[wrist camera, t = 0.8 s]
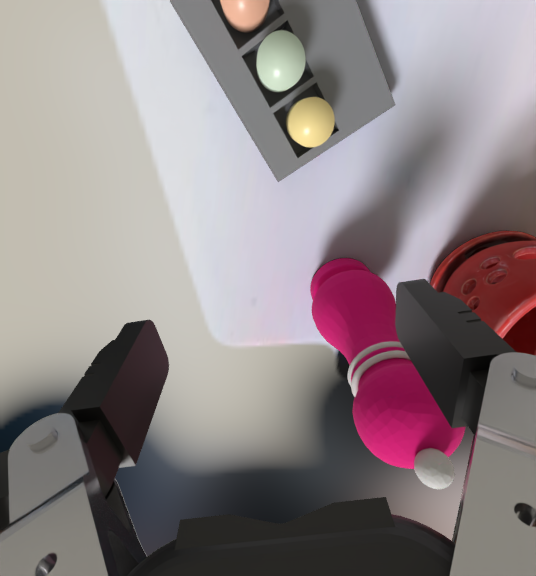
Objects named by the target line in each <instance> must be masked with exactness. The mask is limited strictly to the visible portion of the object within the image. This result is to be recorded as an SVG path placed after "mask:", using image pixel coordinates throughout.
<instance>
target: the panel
mask: <svg viewBox="0 0 536 576" xmlns="http://www.w3.org/2000/svg"><path fill="white" fill-rule="evenodd" d="M170 2H171V4H172V6H173V7H174V9H175V11H176V12H177V14H178V16H179V17H180V19H181V21H182V22H183V24H184V26H185V27H186V29H187V31H188V32H189V34H190V36H191V37H192V39H193V41H194V42H195V44H196V46H197V47H198V49H199V51H200V52H201V54H202V56H203V57H204V59H205V61H206V62H207V64H208V66H209V67H210V69H211V71H212V72H213V74H214V76H215V77H216V79H217V81H218V82H219V84H220V86H221V87H222V89H223V91H224V93H225V94H226V96H227V98H228V99H229V101H230V103H231V104H232V106H233V108H234V109H235V111H236V113H237V114H238V116H239V118H240V119H241V121H242V123H243V124H244V126H245V128H246V129H247V131H248V133H249V134H250V136H251V138H252V139H253V141H254V143H255V144H256V146H257V148H258V149H259V151H260V153H261V154H262V156H263V158H264V159H265V161H266V163H267V164H268V166H269V168H270V169H271V171H272V173H273V174H274V176H275V178H276V180H277V181H278V182H279V181H281V180H282V179H284V178H285V177H287V176H288V175H290V174H291V173H293V172H294V171H296V170H297V169H299V168H300V167H302V166H303V165H305V164H306V163H308V162H309V161H311V160H313V159H314V158H316V157H317V156H319V155H320V154H322V153H323V152H325V151H326V150H328V149H329V148H331V147H332V146H334V145H335V144H337V143H338V142H340V141H341V140H343V139H344V138H346V137H347V136H349V135H351V134H352V133H354V132H355V131H357V130H358V129H360V128H361V127H363V126H364V125H366V124H367V123H369V122H370V121H372V120H373V119H375V118H376V117H378V116H379V115H381V114H382V113H384V112H386V111H387V110H389V109H390V108H392V107H393V106H395V103H394V100H393V97H392V95H391V92H390V89H389V87H388V84H387V81H386V79H385V76H384V73H383V71H382V68H381V65H380V63H379V60H378V57H377V55H376V52H375V49H374V47H373V44H372V42H371V39H370V36H369V34H368V31H367V28H366V26H365V23H364V20H363V18H362V15H361V12H360V10H359V7H358V4H357V2H356V0H270V2H269V9H268V14H267V17H266V19H265V21H264V23H263V24H262V25H261V27H260V28H258V29H257V30H256V31H253V32H250V33H243V32H239V31H237V30H235V29H234V28H233V27H232V26H231V25H230V24H229V23H228V21H227V19H226V17H225V15H224V12H223V9H222V5H221V2H220V0H170ZM279 30H284V31H288V32H291V33H292V34H294V35H295V36H296V37H297V38H298V39H299V40H300V42H301V43H302V45H303V48H304V51H305V59H306V61H305V68H304V72H303V74H302V76H301V78H300V79H299V81H298V82H297V83H296V84H295V85H293V86H292V87H291V88H289V89H288V90H286V91H283V92H272V91H270V90H268V89H266V88H265V87H264V86H263V85H262V84H261V82H260V80H259V78H258V75H257V69H256V63H257V54H258V50H259V47H260V45H261V43H262V41H263V40H264V39H265V38H266V37H267V36H268V35H269V34H271V33H272V32H275V31H279ZM309 97H319V98H322V99H323V100H325V101H326V102H327V103H328V104H329V105H330V106H331V108H332V110H333V113H334V118H335V123H334V128H333V131H332V133H331V135H330V137H329V138H328V139H327V140H326V141H325V142H324V143H323V144H321V145H319V146H317V147H305V146H302V145H300V144H299V143H297V142H296V141H294V140H293V139H292V138H291V137H290V135H289V134H288V132H287V129H286V116H287V113H288V111H289V109H290V108H291V106H292V105H293V104H294V103H296V102H297V101H299V100H302V99H305V98H309Z"/></svg>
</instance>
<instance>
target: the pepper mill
mask: <svg viewBox="0 0 536 576" xmlns="http://www.w3.org/2000/svg"><path fill="white" fill-rule="evenodd" d="M311 295H312V299H313V304H312V315H313V319H314V322H315V324H316V326H317V329H318V330H319V332H320V333H321V335H322V336H323V337H324V338H325V339H326V341H327V342H329V343H330V344H331V345H332V346H334V347H335V348H336V349H338V350H339V351H340V352H341V353H342V354H343V355H344V356H345V357H346V359H347V360H348V362H349V364H350V366H349V369H348V381H349V384H350V386H351V389H352V393H353V395H354V397H355V399H354V404H353V417H354V422H355V426H356V428H357V431H358V434H359V435H360V437H361V439H362V440H363V442H364V444H365V445H366V446H367V447H368V449H369V450H370V451H371V452H372V453H373V454H374V455H375V456H377V457H378V458H380V459H381V460H383V461H384V462H386V463H388V464H390V465H394V466H397V467H402V468H410V469H415V472H416V474H417V476H418V477H419V479H420V480H421V481H422V482H423V483H424V484H425V485H427V486H429V487H431V488H434V489H443V488H446V487H448V486H449V485H450V484H451V483H452V481H453V478H454V467H453V465H452V462H451V461H450V459H449V458H448V457H449V456H450V455H451V454H452V453H453V452H454V451H455V450H456V448H457V447H458V445H459V444H460V442H461V440H462V438H463V436H464V432H465V427H458V428H451V426H450V425H449V423H448V421H447V420H446V418H445V416H444V415H443V413H442V411H441V410H440V408H439V406H438V405H437V403H436V401H435V400H434V398H433V396H432V395H431V393H430V391H429V390H428V388H427V386H426V385H425V383H424V381H423V380H422V378H421V376H420V375H419V373H418V371H417V370H416V368H415V366H414V365H413V363H412V361H411V360H410V358H409V356H408V355H407V353H406V351H405V350H404V348H403V346H402V345H401V343H400V341H399V339H398V336H397V332H396V326H395V317H396V303H395V298H394V296H393V294H392V292H391V290H390V288H389V287H388V285H387V284H386V283H385V282H384V281H383V280H382V279H381V278H380V277H379V276H377V275H375V274H373V273H371V272H370V271H369V269H368V268H367V267H366V266H365V265H364V264H363V263H361V262H360V261H358V260H355V259H350V258H340V259H335V260H332V261H330V262H328V263H326V264H325V265H323V266H322V267H321V268H320V269H319V270H318V271H317V272H316V274H315V275H314V277H313V279H312V282H311Z"/></svg>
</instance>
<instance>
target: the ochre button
mask: <svg viewBox="0 0 536 576" xmlns="http://www.w3.org/2000/svg"><path fill="white" fill-rule="evenodd" d="M334 123H335V118H334V113H333V110H332V108H331V106H330V105H329V104H328V103H327V102H326V101H325V100H323V99H322V98H319V97H309V98H305V99H302V100H299V101H297V102H296V103H294V104H293V105H292V106H291V108H290V109H289V111H288V113H287V116H286V129H287V132H288V134H289V135H290V137H291V138H292V139H293V140H294V141H296V142H297V143H299V144H300V145H302V146H305V147H317V146H319V145H321V144H323V143H324V142H325V141H326V140H327V139H328V138H329V137H330V135H331V133H332V131H333V128H334Z"/></svg>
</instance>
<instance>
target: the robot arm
mask: <svg viewBox="0 0 536 576" xmlns="http://www.w3.org/2000/svg"><path fill="white" fill-rule="evenodd" d="M395 326H396V332H397V336H398V339H399V341H400V343H401V345H402V346H403V348H404V350H405V351H406V353H407V355H408V356H409V358H410V360H411V361H412V363H413V365H414V366H415V368H416V370H417V371H418V373H419V375H420V376H421V378H422V380H423V381H424V383H425V385H426V386H427V388H428V390H429V391H430V393H431V395H432V396H433V398H434V400H435V401H436V403H437V405H438V406H439V408H440V410H441V411H442V413H443V415H444V416H445V418H446V420H447V421H448V423H449V425H450V426H451V428H458V427H466V426H468V427H469V428H470V430H471V431H472V433H473V434H474V437H473V441H472V446H471V451H470V456H469V461H468V466H467V470H466V475H465V480H464V485H463V490H462V495H461V500H460V505H459V510H458V515H457V519H456V524H455V528H454V533H453V538H452V541H451V540H449V539H448V538H447V537H445V536H444V535H442V534H440V533H439V532H437V531H435V530H433V529H432V528H430V527H428V526H426V525H423V524H421V523H419V522H417V521H414V520H411V519H408V518H405V517H402V516H397V515H392V514H391V512H390V509H389V506H388V503H387V500H386V497H383V498H373V499H364V500H355V501H346V502H338V503H332V504H330V505H327V506H325V507H323V508H320V509H318V510H316V511H313V512H311V513H308V514H306V515H304V516H301V517H299V518H297V519H294V520H292V521H289V522H287V523H284V524H276V523H270V522H265V521H260V520H255V519H250V518H245V517H240V516H235V515H220V516H211V517H202V518H193V519H184V520H180V524H179V529H178V534H177V539H175V540H173V541H171V542H169V543H167V544H166V545H164V546H162V547H160V548H159V549H157V550H156V551H155V552H153V553H152V554H150V555H149V556H148V557H147V556H146V554H145V552H144V550H143V548H142V546H141V544H140V542H139V539H138V537H137V534H136V531H135V529H134V526H133V523H132V521H131V518H130V515H129V512H128V510H127V507H126V504H125V502H124V499H123V496H122V493H121V490H120V488H119V485H118V483H117V481H116V480H115V476H116V473H117V471H118V468H120V467H128V466H136V463H137V460H138V457H139V455H140V452H141V449H142V446H143V443H144V440H145V437H146V435H147V432H148V429H149V426H150V423H151V420H152V418H153V415H154V412H155V409H156V406H157V403H158V400H159V397H160V395H161V392H162V389H163V386H164V383H165V380H166V378H167V375H168V370H169V362H168V357H167V354H166V351H165V349H164V346H163V344H162V341H161V339H160V337H159V334H158V332H157V329H156V327H155V325H154V323H153V322H152V321H151V320H144V321H137V322H131V323H126V324H125V325H124V327H123V328H122V330H121V332H120V333H119V335H118V336H117V338H116V339H115V340H112V341H111V342H110V343H109V344H108V345H107V346H105V347H104V348H103V349H102V350H101V351H100V352H99V353H98V354H97V356H96V357H95V359H94V360H93V362H92V363H91V366H90V367H89V368H88V370H87V371H86V372H85V376H84V377H82V379H81V380H80V381H79V383H78V385H77V386H76V388H75V389H74V391H73V392H72V394H71V395H70V397H69V398H68V399H67V401H66V402H65V404H64V405H63V407H62V408H61V410H60V412H59V413H58V414H54V415H50V416H48V417H45V418H43V419H41V420H39V421H38V422H36V423H34V424H33V425H31V426H30V427H29V428H27V429H26V430H25V431H24V432H23V433H22V434H21V435H20V436H19V437H18V438H17V439H16V440H15V442H14V443H13V445H12V446H11V448H10V450H8V451H5V452H2V453H0V576H536V356H535V355H531V354H526V353H518V352H516V351H515V350H514V349H513V348H512V347H511V346H510V345H508V344H507V343H506V342H505V341H504V340H503V339H502V338H501V337H500V336H499V335H498V334H497V333H496V332H495V331H494V330H493V329H492V328H491V327H489V326H488V325H487V324H486V323H485V322H484V321H481V318H480V317H479V316H478V315H477V314H476V313H475V312H472V310H471V309H470V308H469V307H468V306H467V305H466V304H465V303H464V302H463V301H462V300H461V299H459V298H457V297H455V296H452V295H450V294H448V293H446V292H440V293H438V292H437V291H436V290H435V289H434V288H433V287H432V286H431V285H430V284H429V283H428V282H427V281H426V280H425V279H420V280H413V281H406V282H400V283H398V285H397V290H396V317H395Z"/></svg>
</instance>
